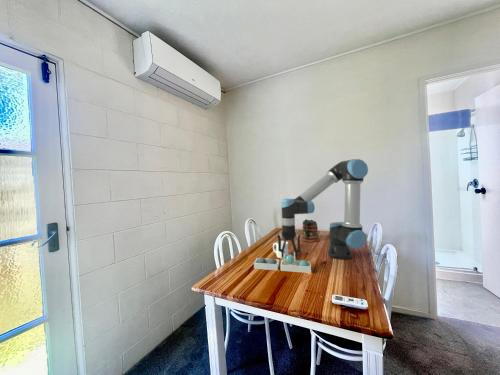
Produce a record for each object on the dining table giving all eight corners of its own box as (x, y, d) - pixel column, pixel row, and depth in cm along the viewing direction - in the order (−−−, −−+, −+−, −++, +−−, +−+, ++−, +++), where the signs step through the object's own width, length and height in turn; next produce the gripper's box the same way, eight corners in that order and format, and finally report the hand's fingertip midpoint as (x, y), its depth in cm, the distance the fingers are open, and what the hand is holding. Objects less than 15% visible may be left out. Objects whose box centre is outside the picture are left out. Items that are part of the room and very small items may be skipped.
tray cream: (310, 267, 123) (310, 261, 123) (311, 274, 115) (310, 267, 115) (282, 265, 127) (281, 259, 127) (280, 271, 119) (280, 264, 119)
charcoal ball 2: (277, 265, 127) (276, 256, 126) (275, 269, 121) (275, 260, 121) (268, 264, 128) (268, 256, 128) (266, 268, 123) (266, 259, 122)
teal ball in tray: (308, 267, 122) (308, 258, 122) (308, 271, 116) (308, 262, 116) (298, 267, 123) (298, 258, 123) (298, 271, 118) (298, 261, 118)
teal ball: (294, 262, 124) (294, 253, 124) (294, 265, 118) (293, 256, 118) (285, 261, 125) (285, 252, 125) (284, 265, 120) (284, 255, 120)
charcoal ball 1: (266, 264, 128) (266, 256, 128) (265, 268, 123) (264, 259, 123) (258, 264, 130) (258, 255, 129) (256, 267, 124) (256, 258, 124)
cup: (284, 260, 136) (284, 245, 136) (269, 256, 144) (269, 242, 144) (290, 256, 142) (290, 242, 142) (276, 252, 150) (275, 239, 150)
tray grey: (279, 265, 128) (278, 259, 127) (277, 271, 120) (277, 264, 120) (257, 264, 131) (256, 258, 131) (254, 269, 123) (253, 263, 123)
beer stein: (315, 244, 166) (315, 220, 165) (298, 242, 173) (297, 219, 172) (320, 238, 182) (320, 216, 181) (304, 236, 189) (303, 215, 189)
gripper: (304, 223, 122) (305, 261, 123) (274, 223, 127) (275, 259, 128) (304, 226, 115) (305, 266, 116) (272, 225, 120) (273, 264, 120)
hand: (289, 263), depth 122 cm, fingers closed on teal ball, 5 cm apart
